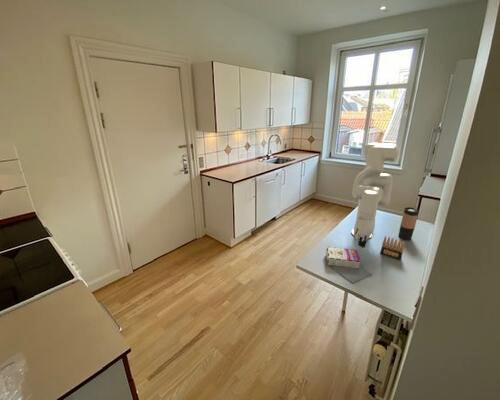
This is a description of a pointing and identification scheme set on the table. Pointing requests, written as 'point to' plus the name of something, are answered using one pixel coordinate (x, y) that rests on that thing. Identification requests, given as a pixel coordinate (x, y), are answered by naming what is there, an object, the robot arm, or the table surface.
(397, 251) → the ammunition clip
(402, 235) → the travel mug
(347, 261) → the candy bar box
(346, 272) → the mat
